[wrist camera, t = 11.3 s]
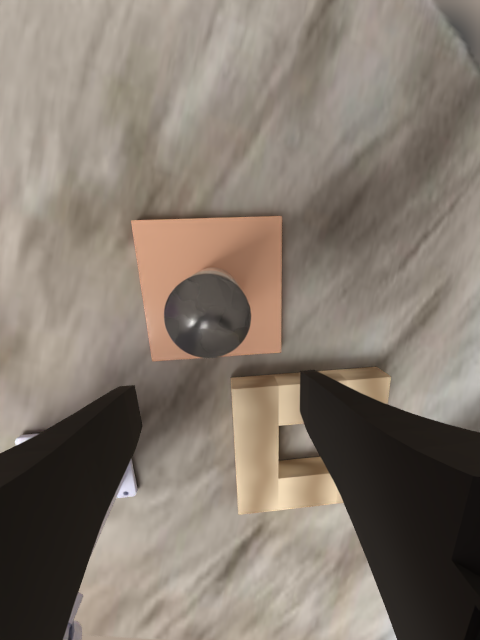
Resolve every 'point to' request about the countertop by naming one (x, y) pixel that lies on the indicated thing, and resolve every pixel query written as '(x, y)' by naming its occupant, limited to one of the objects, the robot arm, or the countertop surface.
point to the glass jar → (207, 314)
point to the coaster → (204, 252)
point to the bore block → (263, 440)
